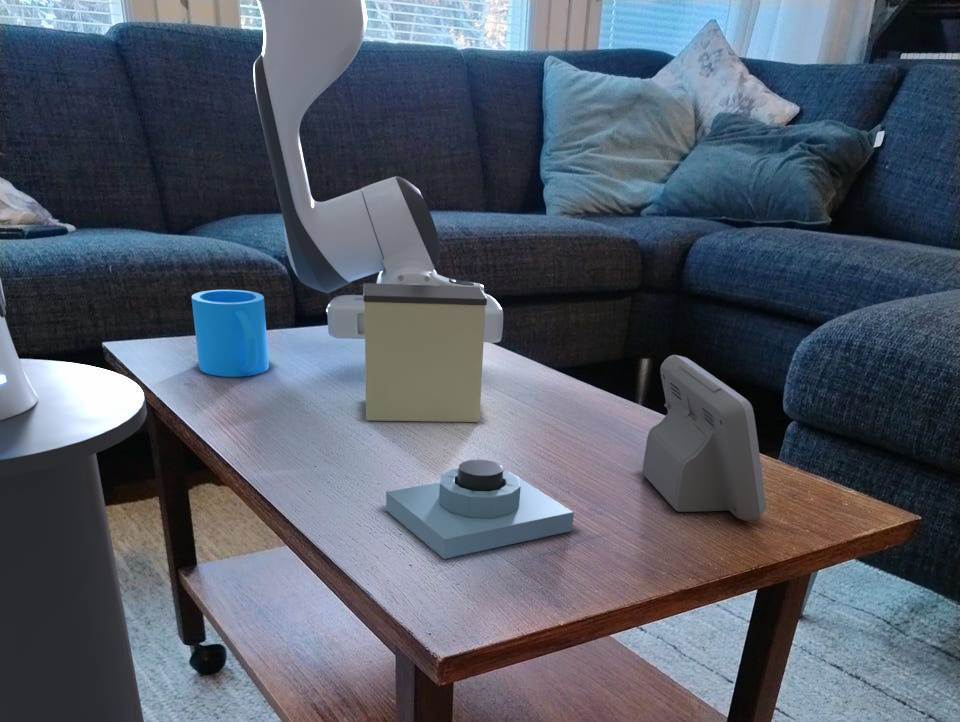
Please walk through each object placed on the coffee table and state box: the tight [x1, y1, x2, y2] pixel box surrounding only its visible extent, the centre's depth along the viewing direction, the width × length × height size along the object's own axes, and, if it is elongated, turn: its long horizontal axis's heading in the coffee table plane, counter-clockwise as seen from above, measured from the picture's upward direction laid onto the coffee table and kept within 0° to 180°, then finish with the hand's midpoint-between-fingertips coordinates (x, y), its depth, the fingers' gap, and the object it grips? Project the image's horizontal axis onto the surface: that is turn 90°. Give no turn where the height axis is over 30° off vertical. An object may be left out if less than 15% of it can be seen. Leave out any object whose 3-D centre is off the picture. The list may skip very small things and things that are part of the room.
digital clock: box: [641, 354, 767, 522], centre depth 80 cm, size 16×9×11 cm, turn 179°
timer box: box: [385, 467, 575, 560], centre depth 74 cm, size 12×10×4 cm
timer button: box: [457, 459, 504, 491], centre depth 73 cm, size 4×4×2 cm
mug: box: [191, 289, 270, 378], centre depth 106 cm, size 12×8×8 cm
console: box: [362, 282, 487, 423], centre depth 95 cm, size 6×12×13 cm, turn 97°
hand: (419, 335), depth 99 cm, fingers closed
